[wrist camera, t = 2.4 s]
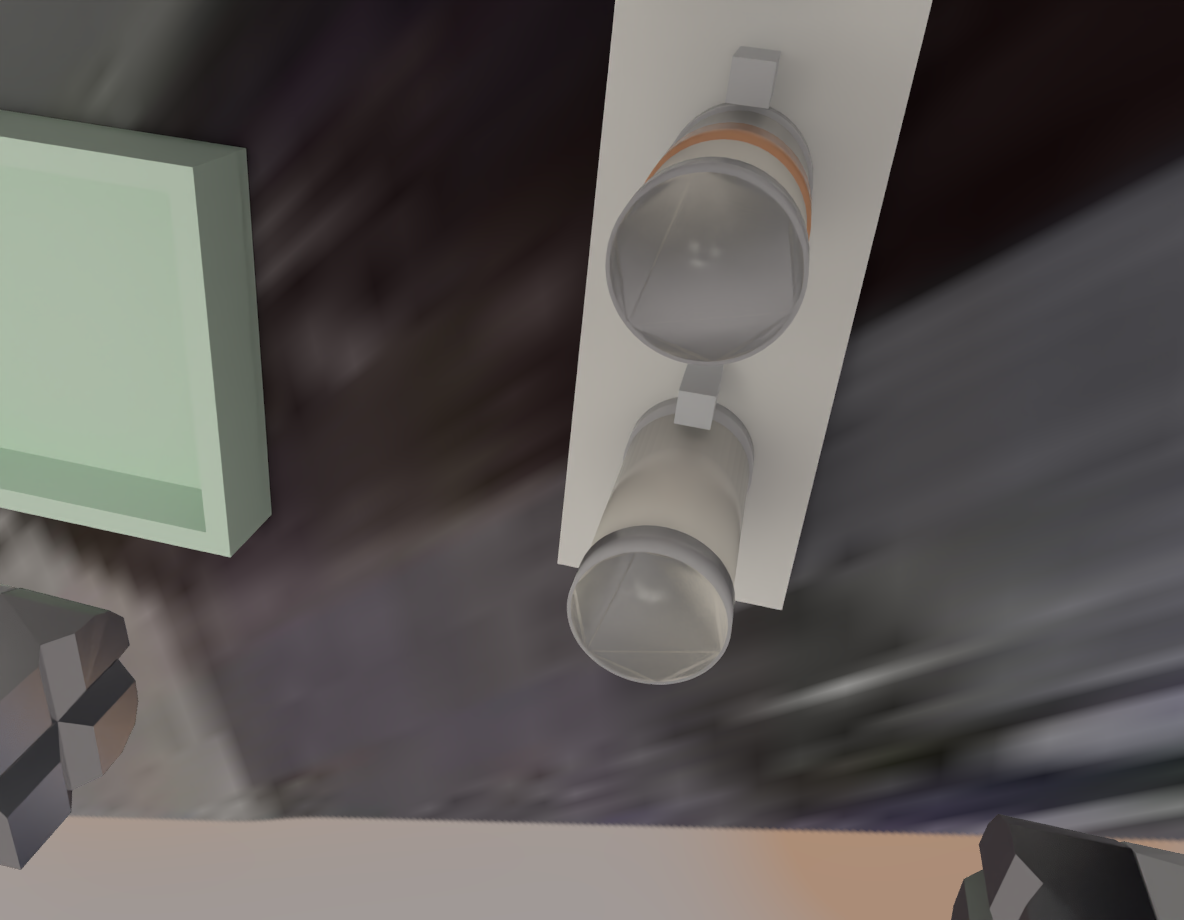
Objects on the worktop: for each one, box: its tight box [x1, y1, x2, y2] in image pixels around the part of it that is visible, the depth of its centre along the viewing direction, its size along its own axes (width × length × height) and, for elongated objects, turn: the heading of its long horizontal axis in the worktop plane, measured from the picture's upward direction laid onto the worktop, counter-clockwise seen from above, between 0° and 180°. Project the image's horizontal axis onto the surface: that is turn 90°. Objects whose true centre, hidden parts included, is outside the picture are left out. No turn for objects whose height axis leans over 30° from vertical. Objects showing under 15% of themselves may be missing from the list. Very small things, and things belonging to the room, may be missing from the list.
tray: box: [0, 110, 272, 557], centre depth 39 cm, size 16×16×4 cm
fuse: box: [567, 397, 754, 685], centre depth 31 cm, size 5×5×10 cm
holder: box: [557, 0, 932, 610], centre depth 30 cm, size 32×9×5 cm, turn 174°
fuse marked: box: [605, 103, 813, 366], centre depth 26 cm, size 5×5×10 cm
